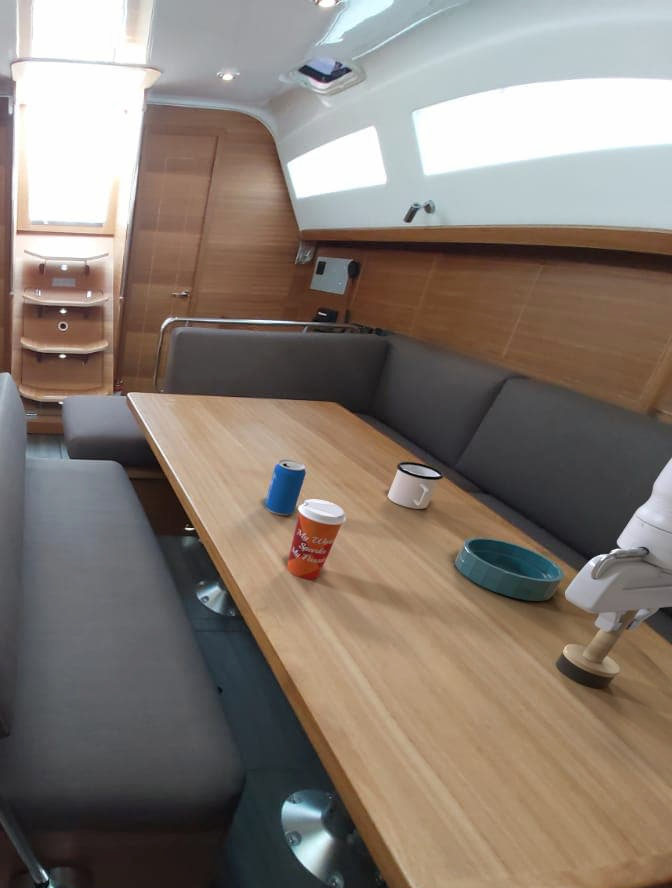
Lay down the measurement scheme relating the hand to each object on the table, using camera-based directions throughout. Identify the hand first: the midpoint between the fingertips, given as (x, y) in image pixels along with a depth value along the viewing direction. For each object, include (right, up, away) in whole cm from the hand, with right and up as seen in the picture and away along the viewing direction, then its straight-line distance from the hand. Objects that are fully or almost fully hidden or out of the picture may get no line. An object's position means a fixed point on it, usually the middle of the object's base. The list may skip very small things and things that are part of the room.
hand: (614, 627), depth 71 cm
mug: (+11, +15, +53) cm, 56 cm away
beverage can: (-24, +14, +48) cm, 55 cm away
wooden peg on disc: (0, -8, +4) cm, 9 cm away
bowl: (+8, +2, +25) cm, 27 cm away
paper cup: (-31, +3, +26) cm, 40 cm away
